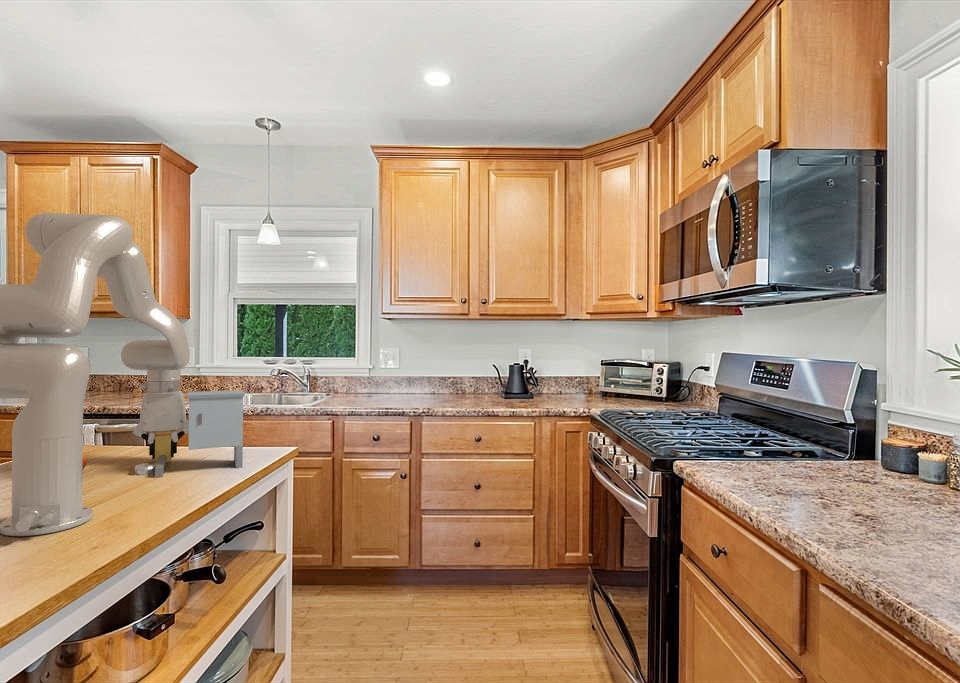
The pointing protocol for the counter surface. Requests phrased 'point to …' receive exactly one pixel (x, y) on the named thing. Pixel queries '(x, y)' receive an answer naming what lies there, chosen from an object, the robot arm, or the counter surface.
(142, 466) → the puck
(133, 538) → the counter surface
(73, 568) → the counter surface
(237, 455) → the cabinet
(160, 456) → the blade tool
